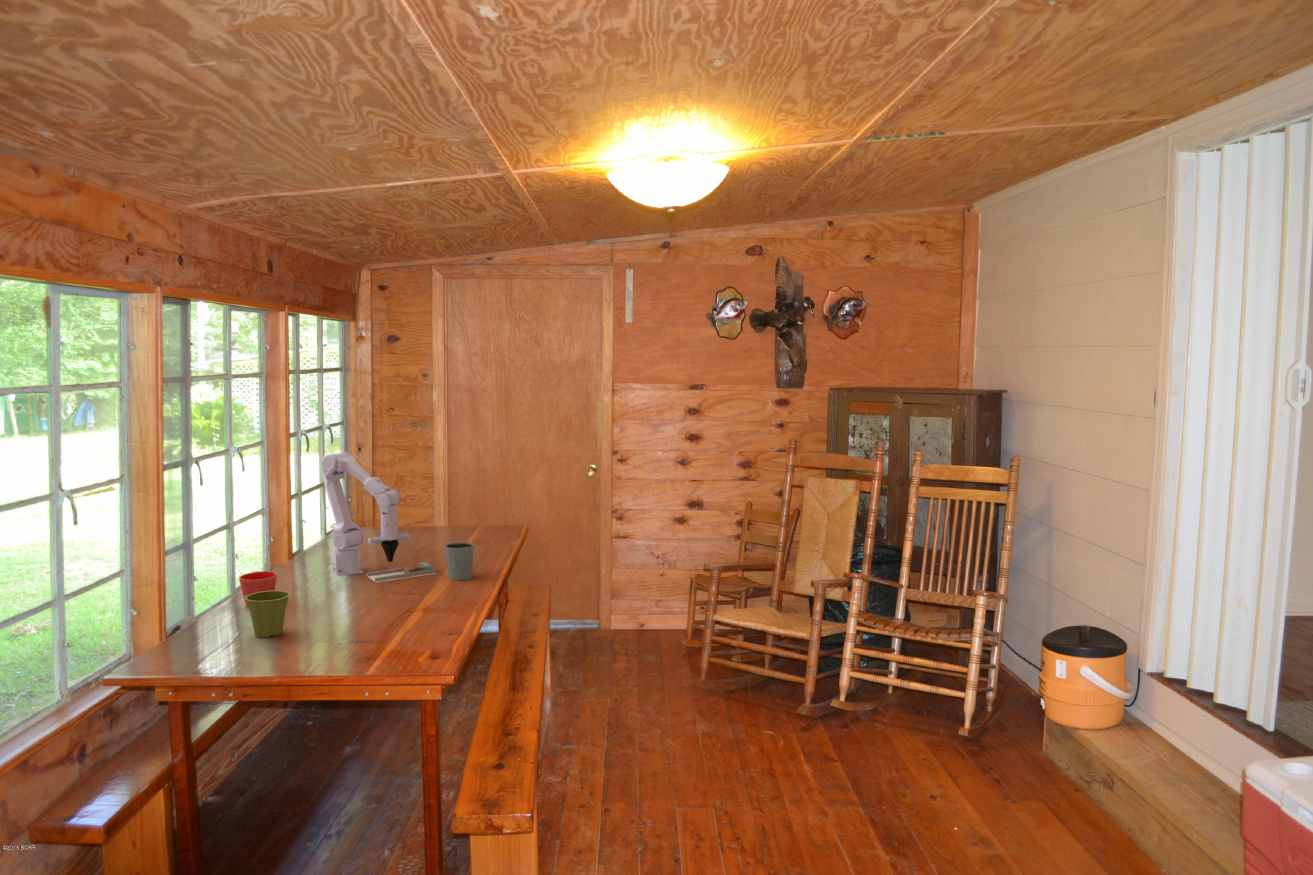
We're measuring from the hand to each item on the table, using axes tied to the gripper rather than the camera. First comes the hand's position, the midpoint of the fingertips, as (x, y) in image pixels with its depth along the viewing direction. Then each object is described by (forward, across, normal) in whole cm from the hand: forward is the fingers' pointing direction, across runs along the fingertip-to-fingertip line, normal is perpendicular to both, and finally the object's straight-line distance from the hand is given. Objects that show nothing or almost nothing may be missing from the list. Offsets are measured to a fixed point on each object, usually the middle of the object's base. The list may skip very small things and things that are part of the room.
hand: (389, 561), depth 314 cm
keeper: (+5, +9, 0) cm, 10 cm away
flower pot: (+6, -46, -11) cm, 48 cm away
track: (+6, +4, 0) cm, 7 cm away
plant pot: (+6, -50, -44) cm, 67 cm away
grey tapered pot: (+6, +20, -15) cm, 26 cm away
